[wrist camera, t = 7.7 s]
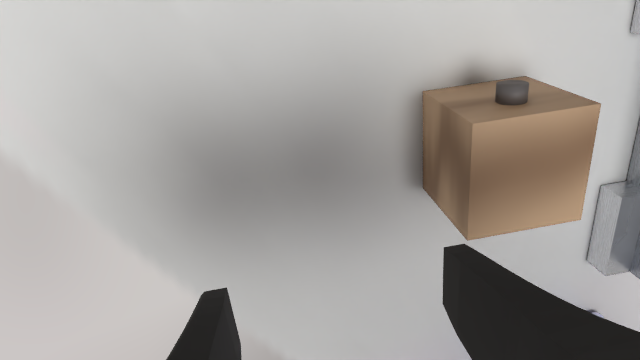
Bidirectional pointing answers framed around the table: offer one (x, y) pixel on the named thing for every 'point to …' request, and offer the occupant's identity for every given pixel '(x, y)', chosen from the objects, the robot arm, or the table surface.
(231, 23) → the table surface
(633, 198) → the grey metal bar
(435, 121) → the cabinet
